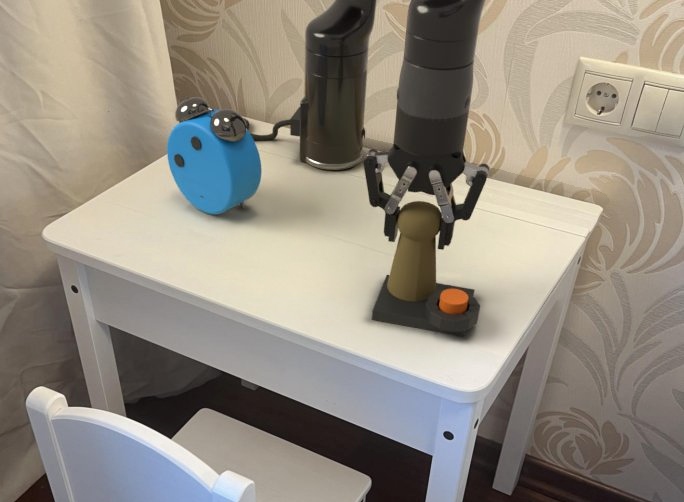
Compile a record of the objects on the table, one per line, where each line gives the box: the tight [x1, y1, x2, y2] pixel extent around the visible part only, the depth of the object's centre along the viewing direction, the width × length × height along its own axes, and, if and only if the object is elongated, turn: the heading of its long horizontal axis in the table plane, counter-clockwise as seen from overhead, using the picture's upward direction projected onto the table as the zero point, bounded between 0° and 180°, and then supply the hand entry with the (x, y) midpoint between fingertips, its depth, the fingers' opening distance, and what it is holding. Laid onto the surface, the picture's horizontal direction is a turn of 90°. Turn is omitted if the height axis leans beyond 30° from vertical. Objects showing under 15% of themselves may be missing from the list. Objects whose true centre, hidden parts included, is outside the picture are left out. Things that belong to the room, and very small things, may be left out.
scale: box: [371, 274, 481, 337], centre depth 99 cm, size 12×9×3 cm
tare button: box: [439, 289, 468, 315], centre depth 96 cm, size 3×3×2 cm
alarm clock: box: [166, 95, 262, 215], centre depth 114 cm, size 13×6×15 cm, turn 49°
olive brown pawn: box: [387, 200, 443, 302], centre depth 98 cm, size 6×6×11 cm
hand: (416, 241), depth 97 cm, fingers closed on olive brown pawn, 5 cm apart
